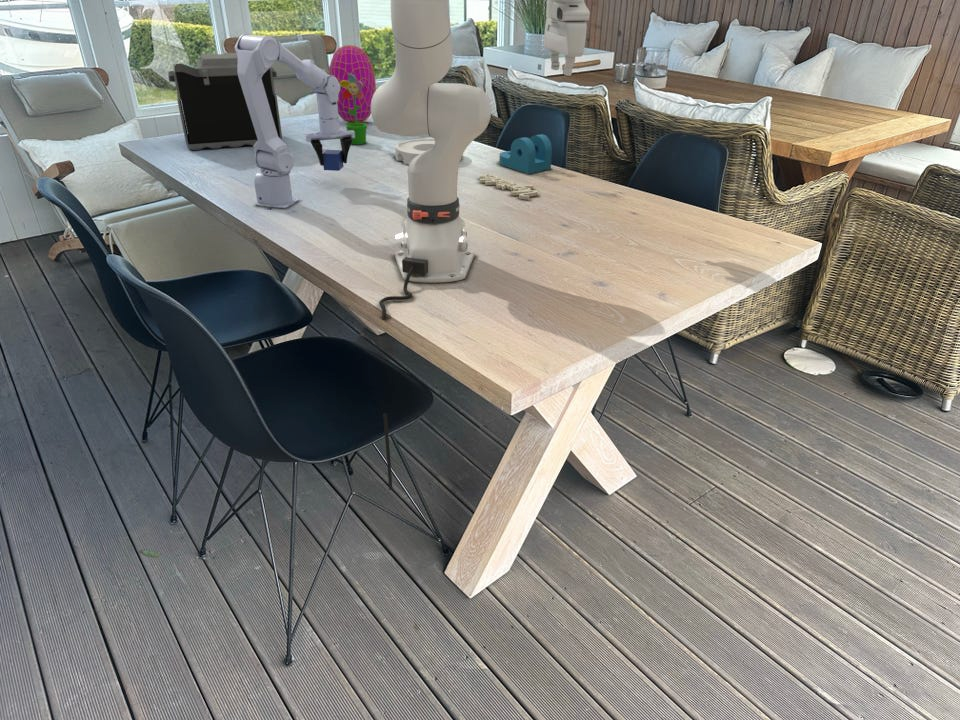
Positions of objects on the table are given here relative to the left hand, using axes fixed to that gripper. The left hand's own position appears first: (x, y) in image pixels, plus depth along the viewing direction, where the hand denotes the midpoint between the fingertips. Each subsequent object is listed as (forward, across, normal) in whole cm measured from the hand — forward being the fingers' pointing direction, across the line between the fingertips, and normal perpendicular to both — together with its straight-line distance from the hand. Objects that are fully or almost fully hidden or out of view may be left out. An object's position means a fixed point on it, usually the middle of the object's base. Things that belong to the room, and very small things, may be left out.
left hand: (333, 163), depth 210 cm
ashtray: (+7, +39, +20) cm, 44 cm away
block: (+1, 0, 0) cm, 1 cm away
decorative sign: (+7, +49, -24) cm, 55 cm away
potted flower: (+7, +23, +51) cm, 56 cm away
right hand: (-31, +46, -54) cm, 77 cm away
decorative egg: (+7, +33, +87) cm, 93 cm away
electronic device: (+7, -20, +72) cm, 75 cm away
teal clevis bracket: (+7, +64, -3) cm, 65 cm away
